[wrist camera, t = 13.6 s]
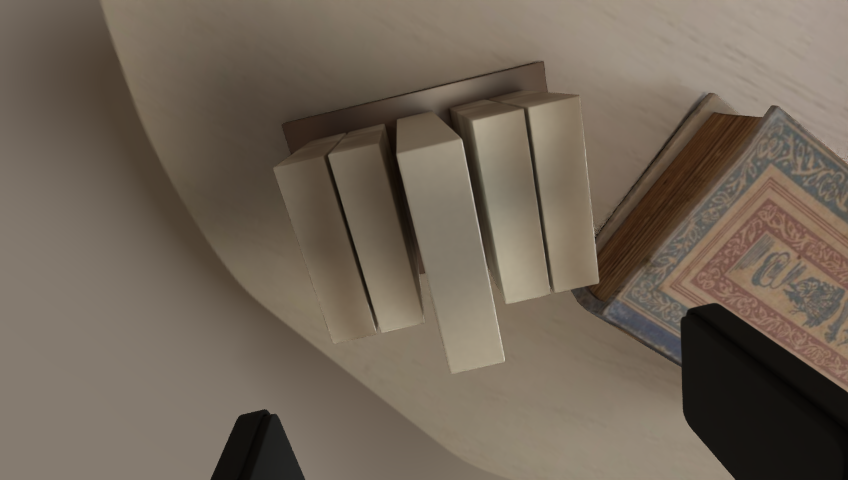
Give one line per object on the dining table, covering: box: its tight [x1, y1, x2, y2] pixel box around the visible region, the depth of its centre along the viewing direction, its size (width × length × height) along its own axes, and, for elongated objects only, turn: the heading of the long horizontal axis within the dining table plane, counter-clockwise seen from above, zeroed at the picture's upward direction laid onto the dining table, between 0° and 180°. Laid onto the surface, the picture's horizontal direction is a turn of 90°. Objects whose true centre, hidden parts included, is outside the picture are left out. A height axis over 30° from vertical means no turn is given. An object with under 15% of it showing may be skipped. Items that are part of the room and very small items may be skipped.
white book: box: [396, 111, 505, 374], centre depth 25 cm, size 2×10×15 cm, turn 13°
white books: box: [273, 61, 599, 344], centre depth 28 cm, size 18×13×11 cm
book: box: [571, 93, 848, 392], centre depth 34 cm, size 17×7×25 cm
